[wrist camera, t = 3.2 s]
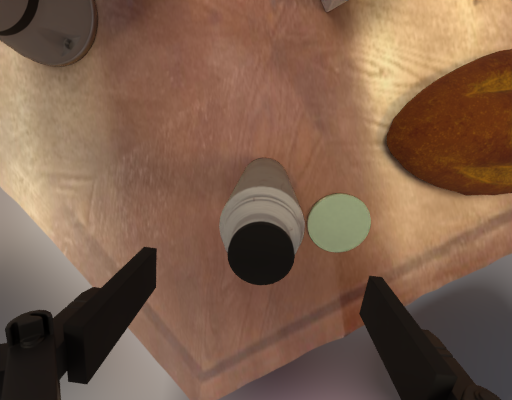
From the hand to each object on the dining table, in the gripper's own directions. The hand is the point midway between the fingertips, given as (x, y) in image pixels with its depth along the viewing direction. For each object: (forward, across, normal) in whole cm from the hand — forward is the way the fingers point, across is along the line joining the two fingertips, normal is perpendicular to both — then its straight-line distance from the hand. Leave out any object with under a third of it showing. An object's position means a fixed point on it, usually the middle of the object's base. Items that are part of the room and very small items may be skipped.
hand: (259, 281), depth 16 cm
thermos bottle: (+31, 0, 0) cm, 31 cm away
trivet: (+31, +14, -6) cm, 34 cm away
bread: (+31, +34, +13) cm, 48 cm away
